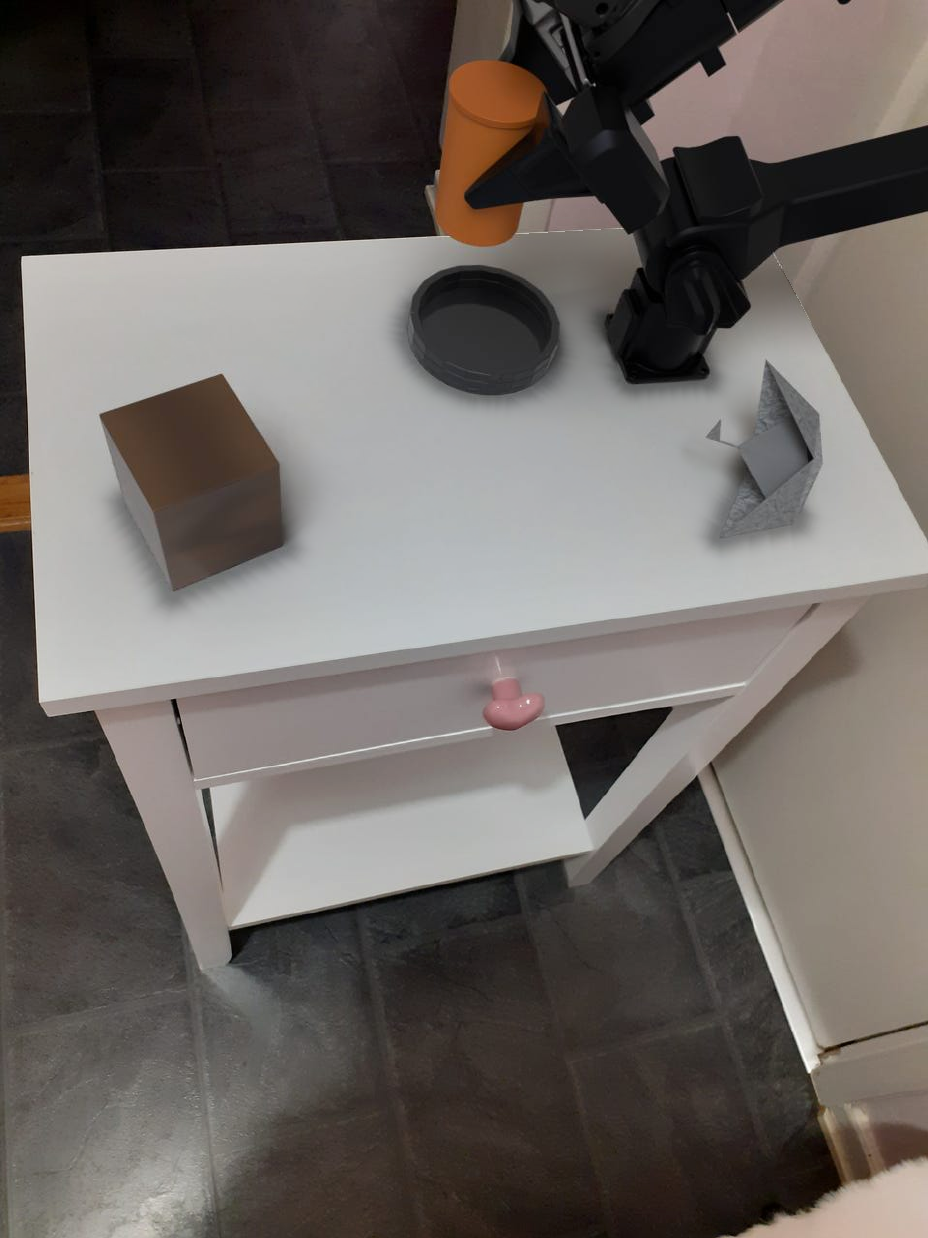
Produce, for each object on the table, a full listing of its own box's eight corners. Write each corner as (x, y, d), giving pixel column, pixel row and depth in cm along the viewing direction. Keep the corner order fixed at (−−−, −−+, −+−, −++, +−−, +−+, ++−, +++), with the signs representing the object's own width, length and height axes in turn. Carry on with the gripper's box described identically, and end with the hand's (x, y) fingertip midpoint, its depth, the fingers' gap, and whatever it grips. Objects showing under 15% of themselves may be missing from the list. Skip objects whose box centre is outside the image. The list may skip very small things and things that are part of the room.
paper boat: (830, 561, 60) (714, 528, 57) (766, 557, 66) (658, 526, 63) (874, 380, 60) (760, 336, 56) (806, 391, 66) (699, 352, 62)
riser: (232, 462, 58) (222, 372, 51) (283, 546, 56) (280, 463, 49) (124, 502, 56) (98, 413, 49) (172, 591, 53) (153, 511, 46)
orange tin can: (527, 201, 58) (556, 75, 51) (511, 257, 55) (539, 132, 48) (443, 179, 58) (461, 49, 51) (423, 234, 55) (439, 105, 48)
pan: (533, 283, 70) (538, 262, 68) (569, 390, 65) (576, 370, 64) (395, 288, 68) (398, 266, 66) (423, 399, 63) (426, 379, 61)
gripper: (593, -269, 44) (353, -35, 52) (689, -57, 35) (384, 187, 43) (690, -70, 52) (470, 107, 60) (786, 142, 44) (516, 316, 51)
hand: (461, 170), depth 53 cm, fingers closed on orange tin can, 5 cm apart
